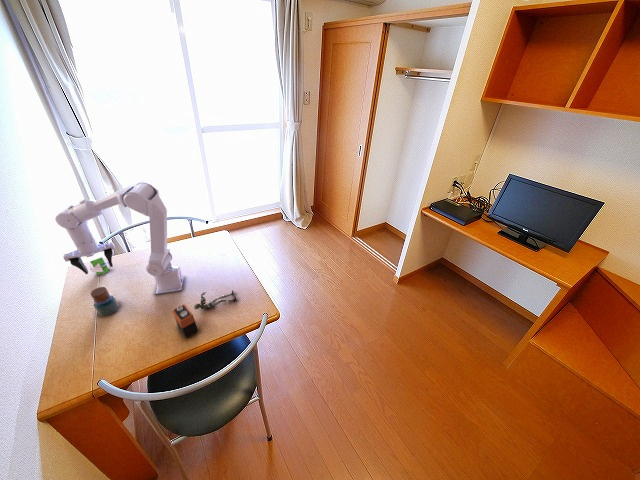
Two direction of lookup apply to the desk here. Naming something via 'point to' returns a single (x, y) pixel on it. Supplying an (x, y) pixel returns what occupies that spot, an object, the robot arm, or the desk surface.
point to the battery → (185, 320)
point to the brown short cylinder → (100, 294)
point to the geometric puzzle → (99, 266)
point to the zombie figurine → (212, 303)
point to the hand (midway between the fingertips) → (99, 268)
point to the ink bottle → (106, 306)
